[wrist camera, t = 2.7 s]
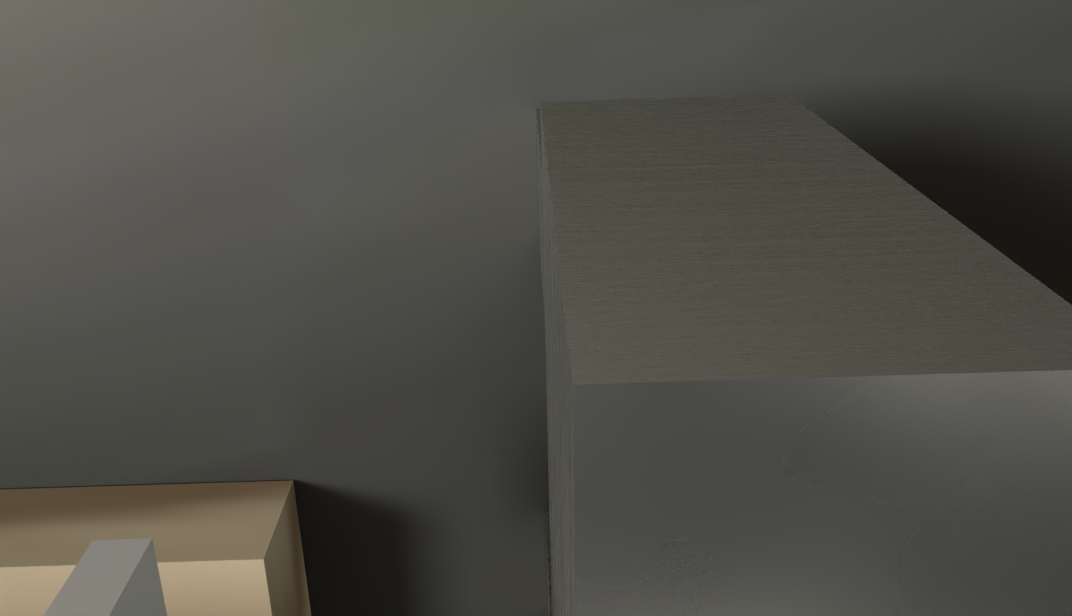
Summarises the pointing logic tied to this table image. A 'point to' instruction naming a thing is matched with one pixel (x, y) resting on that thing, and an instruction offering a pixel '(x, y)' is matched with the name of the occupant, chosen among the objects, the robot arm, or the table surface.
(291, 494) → the wooden ladder frame
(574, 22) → the table surface
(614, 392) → the grey flat block
